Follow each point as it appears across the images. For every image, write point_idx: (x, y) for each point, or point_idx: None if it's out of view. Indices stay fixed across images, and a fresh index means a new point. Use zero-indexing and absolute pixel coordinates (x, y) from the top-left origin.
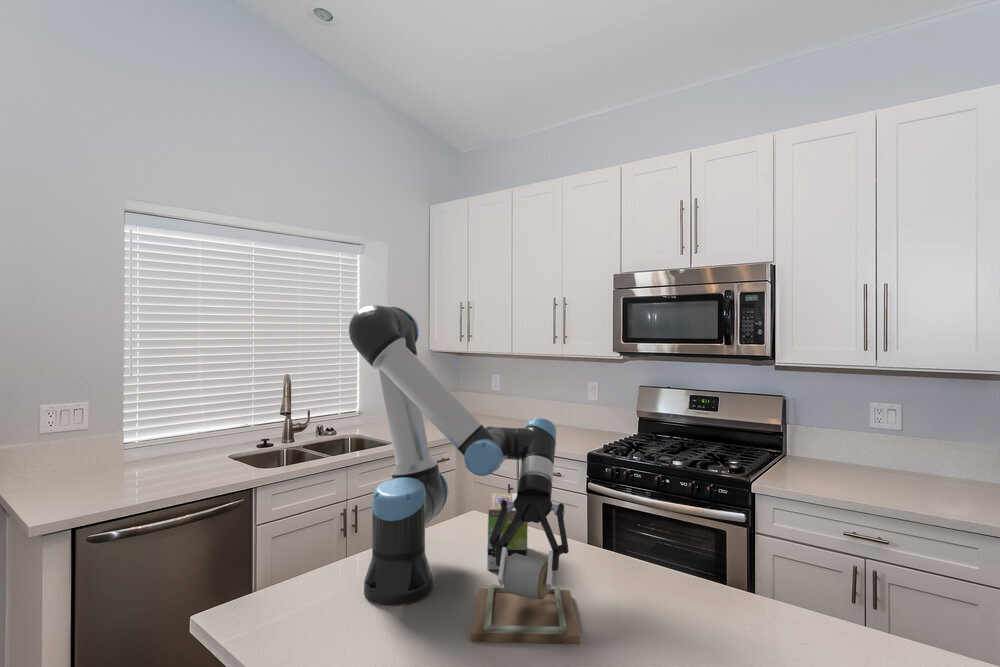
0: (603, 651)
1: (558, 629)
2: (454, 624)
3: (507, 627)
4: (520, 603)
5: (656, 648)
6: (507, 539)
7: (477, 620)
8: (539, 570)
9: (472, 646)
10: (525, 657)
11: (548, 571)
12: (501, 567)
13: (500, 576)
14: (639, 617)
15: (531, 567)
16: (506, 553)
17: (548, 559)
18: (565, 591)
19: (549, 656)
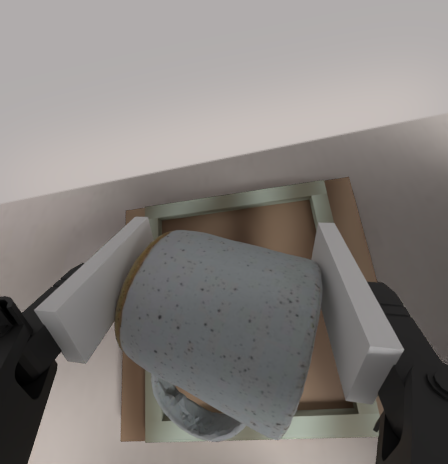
0: (98, 201)
1: (161, 206)
2: (408, 243)
3: (270, 194)
4: None
5: (14, 226)
6: (402, 458)
7: (352, 230)
8: (158, 247)
9: (335, 171)
10: (228, 160)
11: (121, 240)
12: (339, 250)
13: (327, 229)
14: None
15: (191, 257)
16: (348, 354)
17: (92, 272)
18: (134, 427)
19: (187, 170)
